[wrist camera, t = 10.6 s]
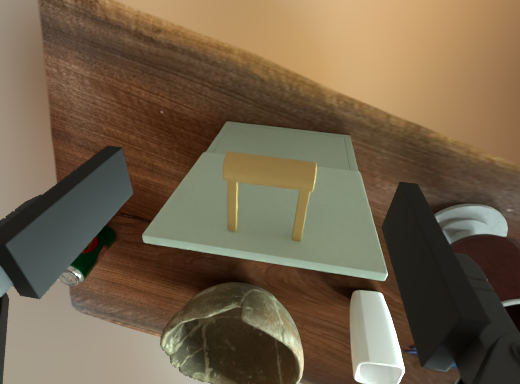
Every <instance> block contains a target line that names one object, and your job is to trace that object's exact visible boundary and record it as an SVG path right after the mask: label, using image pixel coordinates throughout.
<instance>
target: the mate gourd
mask: <svg viewBox="0 0 520 384" xmlns="http://www.w3.org/2000/svg"><path fill="white" fill-rule="evenodd" d="M434 216H435V217H436V219H437V221H438V223H439V225H440V227H441V229H442V231H443V232H444V234H445V236H446V238H447V240H448V242H449V244H450V245H451V247H452V249H453V251H454V253H459V254H467V255H468V256H469V257H470V258H471V259H472V260H473V261H475V262H476V263H477V264H478V265H479V266H480V268H481V269H482V271H483V273H484V274H485V276H486V278H487V279H488V280H487V282H489V283H490V284H491V286H492V288H493V289H494V293H496V294H497V296H498V298H499V299H500V301H501V303H502V304H503V306H504V308H505V309H506V311H507V313H508V314H509V316H510V318H511V319H512V321H513V323H514V324H515V326H516V328H517V329H518V331H519V333H520V241H519V240H516V239H513V238H508V237H506V235H507V231H508V227H507V222H506V220H505V218H504V217H503V216H502V215H501V214H500V213H499V212H498V211H497V210H495V209H494V208H492V207H489V206H487V205H482V204H473V203H468V204H459V205H455V206H451V207H448V208H446V209H443V210H441V211H439V212H437V213H436V214H434Z"/></svg>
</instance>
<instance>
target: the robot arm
mask: <svg viewBox="0 0 520 384" xmlns="http://www.w3.org/2000/svg"><path fill="white" fill-rule="evenodd" d="M132 194H133V190H132V186H131V182H130V178H129V174H128V169H127V165H126V161H125V157H124V153H123V149H122V147H115V146H106V147H105V148H104V149H102V150H101V151H100V152H98V153H97V154H96V155H94V156H93V157H92V158H90V159H89V160H88V161H86V162H85V163H84V164H82V165H81V166H80V167H78V168H77V169H76V170H75V171H73V172H72V173H71V174H69V175H68V176H67V177H65V178H64V179H63V180H61V181H60V182H59V183H57V184H56V185H55V186H54V187H52V188H51V189H49V190H48V191H47V192H46V193H44V194H43V195H39V196H37V197H34V198H32V199H30V200H28V201H26V202H25V203H23V204H22V205H21V206H19V207H18V208H17V209H15V211H13V212H11V213H10V214H8V215H7V216H6V218H5V219H4V218H3V219H2V220H0V384H2V383H3V370H4V357H5V344H6V332H7V318H8V306H9V298H8V295H7V293H6V292H7V291H8V290H9V289H10V288H11V286H14V287H15V289H16V290H17V292H18V293H19V294H20V296H25V297H31V298H36V299H40V298H41V297H42V296H43V295H44V294H45V293H46V291H47V290H48V289H49V288H50V287H51V286H52V285H53V284H54V283H55V281H56V280H57V279H58V278H59V277H60V276H61V275H62V274H63V272H64V271H65V270H66V269H67V268H68V267H69V266H70V264H71V263H72V262H73V261H74V260H75V259H76V258H77V257H78V255H79V254H80V253H81V252H82V251H83V250H84V249H85V247H86V246H87V245H88V244H89V243H90V242H91V241H92V240H93V238H94V237H95V236H96V235H97V234H98V233H99V232H100V230H101V229H102V228H103V227H104V226H105V225H106V224H107V223H108V221H109V220H110V219H111V218H112V217H113V216H114V215H115V213H116V212H117V211H118V210H119V209H120V208H121V207H122V206H123V204H124V203H125V202H126V201H127V200H128V199H129V198H130V196H131V195H132ZM382 231H383V234H384V238H385V241H386V245H387V248H388V252H389V256H390V259H391V263H392V266H393V270H394V273H395V277H396V280H397V284H398V287H399V291H400V294H401V298H402V301H403V305H404V308H405V312H406V315H407V319H408V322H409V326H410V329H411V333H412V336H413V340H414V343H415V347H416V350H417V354H418V357H419V361H420V364H421V367H423V368H429V369H434V370H440V371H445V372H447V371H448V370H449V369H450V368H451V366H452V365H453V364H454V363H456V366H457V368H458V371H459V373H460V377H459V378H458V379H457V380H456V381H455V382H454V383H453V384H520V333H519V331H518V329H517V328H516V326H515V324H514V323H513V321H512V319H511V318H510V316H509V314H508V313H507V311H506V309H505V308H504V306H503V304H502V303H501V301H500V299H499V298H498V296H497V294H496V293H494V289H493V288H492V286H491V284H490V283H489V282H487V280H488V279H487V278H486V276H485V274H484V273H483V271H482V269H481V268H480V266H479V265H478V264H477V263H476V262H475V261H473V260H472V259H471V258H470V257H469V256H468V255H467V254H459V253H454V251H453V249H452V247H451V245H450V244H449V242H448V240H447V238H446V236H445V234H444V232H443V231H442V229H441V227H440V225H439V223H438V221H437V219H436V217H435V216H434V214H433V212H432V210H431V208H430V206H429V204H428V202H427V201H426V199H425V197H424V195H423V193H422V191H421V189H420V187H419V186H418V184H415V183H407V182H399V185H398V188H397V190H396V193H395V195H394V198H393V200H392V203H391V205H390V208H389V210H388V213H387V215H386V218H385V220H384V223H383V225H382Z"/></svg>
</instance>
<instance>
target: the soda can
mask: <svg viewBox="0 0 520 384" xmlns="http://www.w3.org/2000/svg"><path fill="white" fill-rule="evenodd" d="M115 241H116V234H115V232H114V230H113V229H111V228H110V227H108V226H106V225H105V226H104V227H103V228H102V229H101V230H100V232H99V233H98V234H97V235H96V236H95V237H94V238H93V240H92V241H91V242H90V243H89V244H88V245H87V246H86V247H85V249H84V250H83V251H82V252H81V253H80V254H79V255H78V257H77V258H76V259H75V260H74V261H73V262H72V263H71V264H70V266H69V267H68V268H67V269H66V270H65V271H64V272H63V274H62V275H61V276H60V277H59V278H58V280H59V281H61V282H62V283H64V284H66V285H69V286H76V285H78V284H79V283H81V282H83V281H84V280H85V278H86V277H87V276H88V275H89V273H90V272H91V271H92V270H93V268H94V267H95V266H96V265H97V263H98V262H99V261H100V260H101V258H102V257H103V256H104V255H105V253H106V252H107V251H108V250H109V249H110V247H111V246H112V245H113V244H114V242H115Z"/></svg>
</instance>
